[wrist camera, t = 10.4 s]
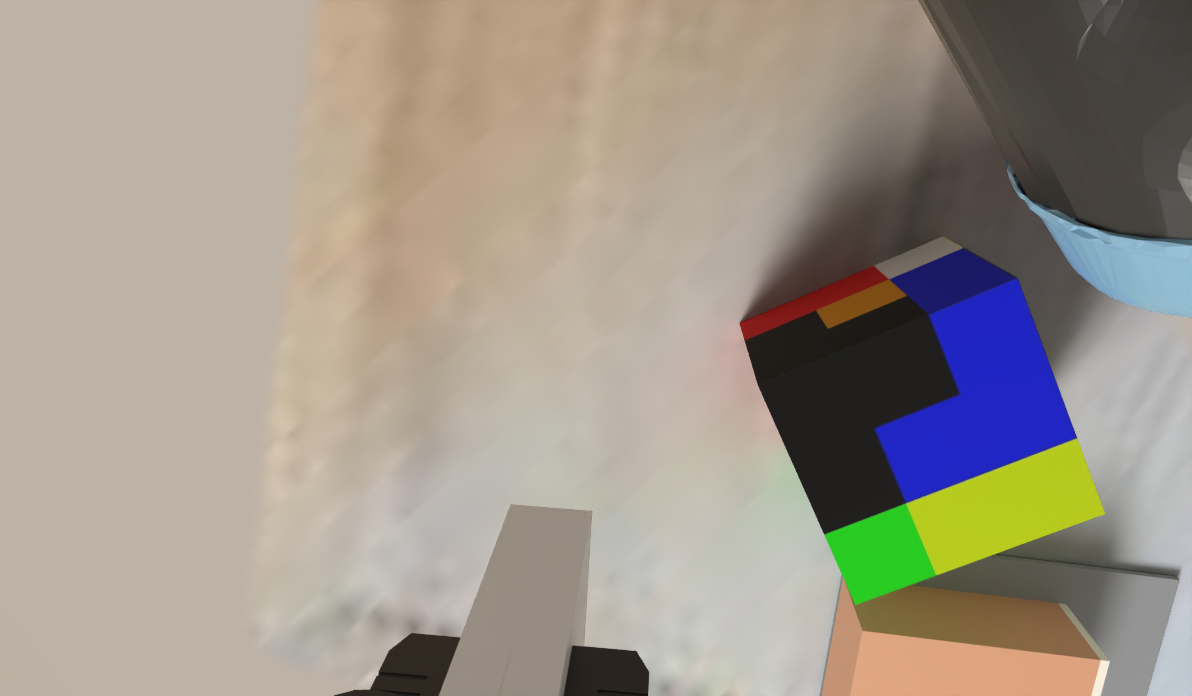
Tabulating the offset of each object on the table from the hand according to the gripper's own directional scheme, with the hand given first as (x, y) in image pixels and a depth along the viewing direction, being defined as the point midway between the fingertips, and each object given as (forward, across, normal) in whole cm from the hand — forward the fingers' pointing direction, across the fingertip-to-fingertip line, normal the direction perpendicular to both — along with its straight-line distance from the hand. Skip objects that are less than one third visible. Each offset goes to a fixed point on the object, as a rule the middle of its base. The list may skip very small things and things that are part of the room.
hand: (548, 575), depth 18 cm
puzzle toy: (+30, +12, -4) cm, 32 cm away
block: (+26, +23, -18) cm, 39 cm away
